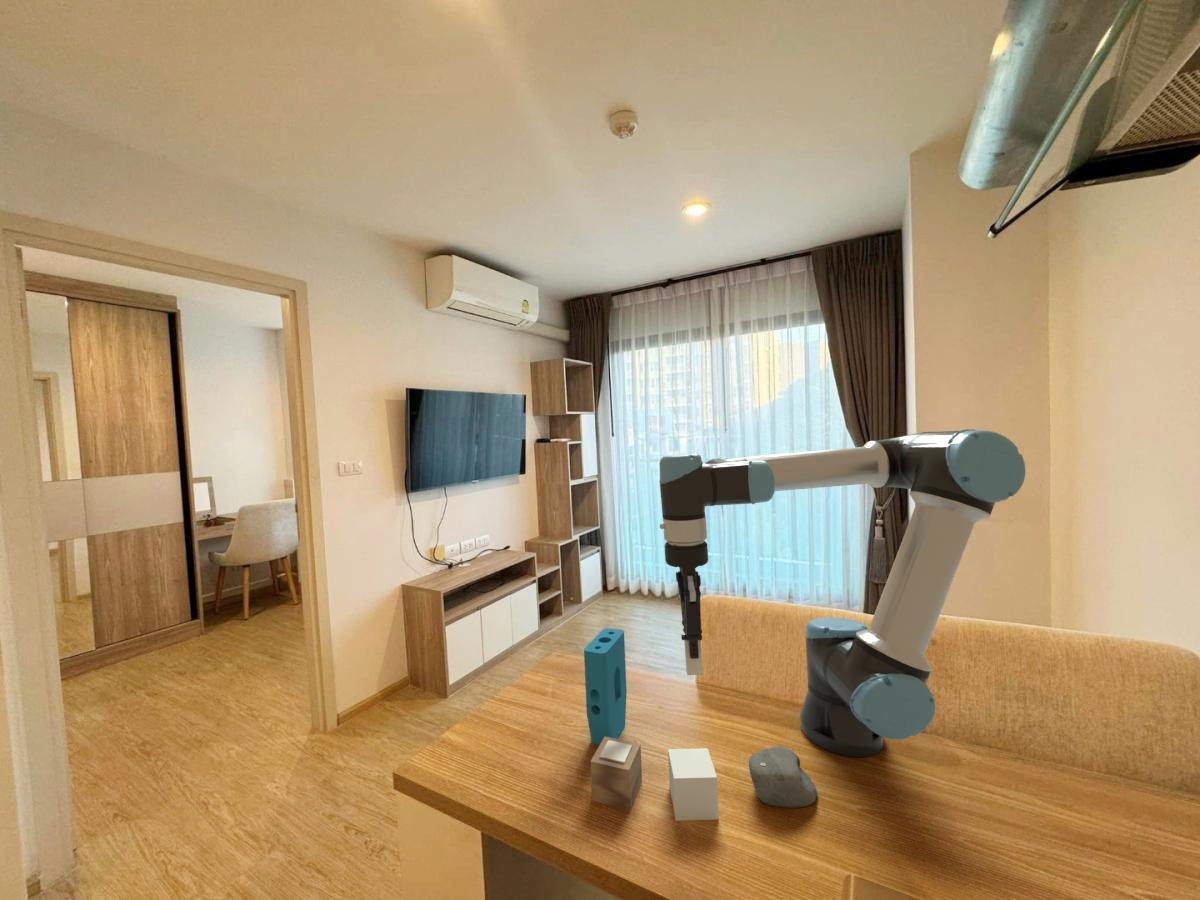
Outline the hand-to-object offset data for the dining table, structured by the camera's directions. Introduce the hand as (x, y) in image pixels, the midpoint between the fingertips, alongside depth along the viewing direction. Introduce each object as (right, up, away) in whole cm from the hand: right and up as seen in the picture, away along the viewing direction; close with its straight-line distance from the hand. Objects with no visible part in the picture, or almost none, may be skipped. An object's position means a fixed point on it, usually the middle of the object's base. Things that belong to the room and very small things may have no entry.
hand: (694, 672), depth 80 cm
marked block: (-14, -21, 0) cm, 25 cm away
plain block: (-1, -21, -4) cm, 21 cm away
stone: (+15, -20, -2) cm, 25 cm away
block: (-15, -21, +16) cm, 30 cm away
